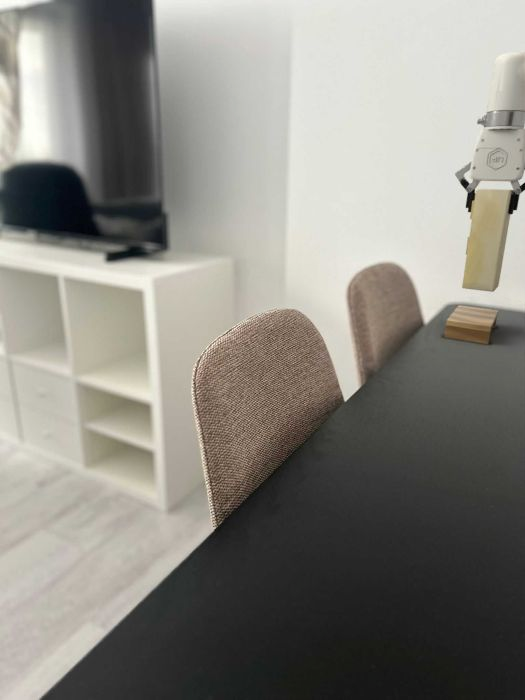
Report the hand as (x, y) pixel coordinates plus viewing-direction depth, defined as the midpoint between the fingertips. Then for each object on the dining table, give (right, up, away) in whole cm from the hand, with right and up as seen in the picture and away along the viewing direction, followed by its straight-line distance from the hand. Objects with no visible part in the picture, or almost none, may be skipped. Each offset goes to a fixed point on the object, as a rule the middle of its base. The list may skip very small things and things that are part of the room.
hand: (490, 212), depth 109 cm
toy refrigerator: (0, -16, +5) cm, 16 cm away
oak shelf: (-1, -25, +8) cm, 27 cm away
